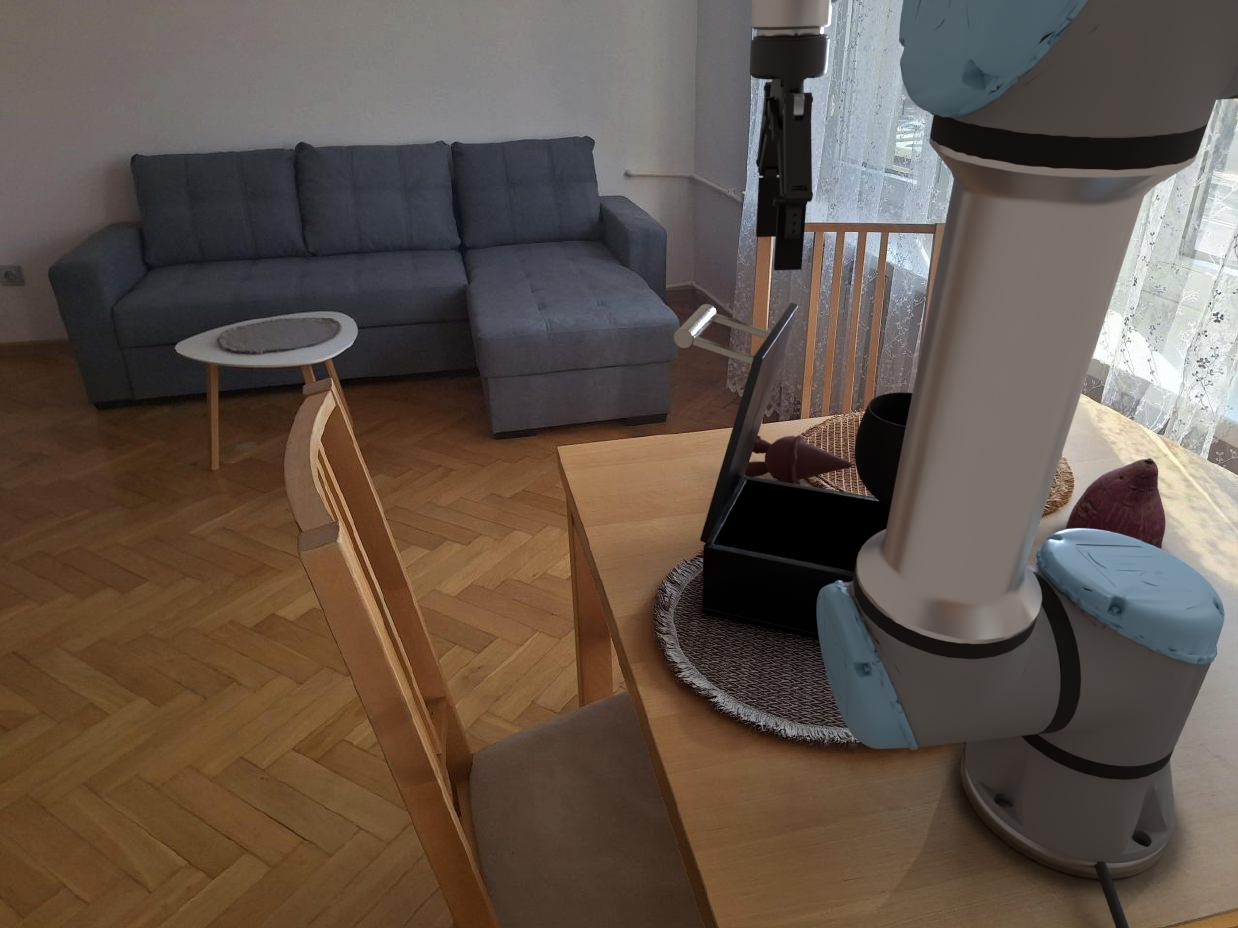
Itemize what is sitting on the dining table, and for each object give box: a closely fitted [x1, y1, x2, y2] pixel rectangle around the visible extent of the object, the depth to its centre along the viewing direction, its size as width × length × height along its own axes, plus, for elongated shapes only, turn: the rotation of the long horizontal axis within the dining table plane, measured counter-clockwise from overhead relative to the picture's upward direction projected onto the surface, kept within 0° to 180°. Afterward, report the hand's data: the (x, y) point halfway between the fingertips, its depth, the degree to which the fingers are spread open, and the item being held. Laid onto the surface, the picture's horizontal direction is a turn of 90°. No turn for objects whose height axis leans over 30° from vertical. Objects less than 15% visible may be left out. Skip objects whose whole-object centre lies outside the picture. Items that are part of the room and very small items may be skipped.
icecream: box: [744, 434, 853, 485], centre depth 112 cm, size 7×7×15 cm
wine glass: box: [851, 391, 913, 567], centre depth 91 cm, size 10×10×20 cm
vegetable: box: [1064, 457, 1167, 549], centre depth 93 cm, size 10×10×15 cm
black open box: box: [701, 475, 890, 641], centre depth 90 cm, size 21×16×9 cm
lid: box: [673, 302, 799, 544], centre depth 86 cm, size 21×16×9 cm
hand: (777, 252), depth 90 cm, fingers open, 13 cm apart
